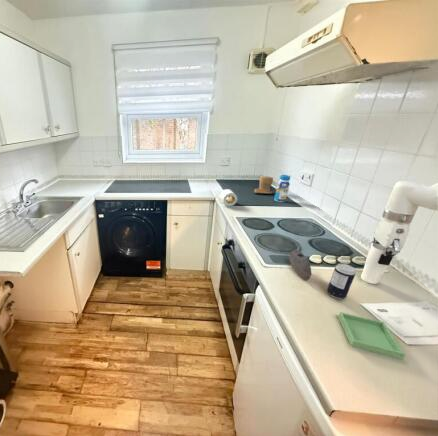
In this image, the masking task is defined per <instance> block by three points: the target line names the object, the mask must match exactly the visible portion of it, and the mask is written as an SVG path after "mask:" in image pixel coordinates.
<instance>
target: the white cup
mask: <svg viewBox="0 0 438 436" xmlns="http://www.w3.org/2000/svg"><path fill="white" fill-rule="evenodd" d="M388 247H390V246H388ZM391 250H392V249H388V250H387V252H388V251H391ZM383 251H384V247H383V246H382V245H381V244H371V245H370V247H369V248H368V252H367V255H366V257H365V261H364V265H363V269H362V272H361V275H360V278H361V280H362V281H364V282H366V283H367V284H371V285H377V284H378V283H379V282H380V280H381V279H382V276H383V275H384V274H385V272H386V270H387V269H388V267H389V265H382V264H378V261H379V258H380V256H381V254H383Z"/></svg>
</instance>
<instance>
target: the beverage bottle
mask: <svg viewBox="0 0 438 436" xmlns="http://www.w3.org/2000/svg"><path fill="white" fill-rule="evenodd" d="M290 179H291V175H289V174H281V175H280V176H279V181H278V182H277V185H276V189H275V194H274V198H273V200H274V201H275V202H277V203H286V201H287V196H288V193H289V189H290V187H289V186H290V185H291V184H290Z"/></svg>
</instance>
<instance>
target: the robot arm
mask: <svg viewBox="0 0 438 436" xmlns="http://www.w3.org/2000/svg"><path fill="white" fill-rule="evenodd" d="M419 207H420V208H425V209H428V210H431V211H436V212H438V182H436V183H434V184H432V185H430V186H428V185H427V184H426V183H423V182H420V181H416V180H415V181H414V180H399V181H397V182H396V183H395V184H394V186H393V188H392V191H391V193H390V196H389V198H388V201H387V203H386V205H385V207H384V210H383V212H382V215H381V219H380V220H379V223H378V225H377V227H376V228H375V231H374V232H373V241H372V242H371V243H372V244H381V245H382V246H383V247H384V251H383V254H381V256H380V258H379V261H378V264H382V265H388V266H390V265H391V262H392V260H393V259H394V257H395V256H397V255H398V254H400V253H401V251H402V249H403V248H404V246H405V243H406V241H407V238H408V235H409V232H410V227H411V223H412V221H413V219H414V217H415V216H416V213H417V211H418V208H419ZM372 244H371V245H372ZM388 246H389V247H388ZM388 249H392V250H391V251H388V252H387V250H388Z"/></svg>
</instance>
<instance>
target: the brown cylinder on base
mask: <svg viewBox="0 0 438 436" xmlns="http://www.w3.org/2000/svg"><path fill="white" fill-rule="evenodd" d="M258 182H259V183H258V184H259V186H258V188H254V194H259V195H260V194H262V195H271V194H273V191H272V190H271V187H272V185H273V183H274V177H273V176H266V175H260V176H259V180H258Z"/></svg>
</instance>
